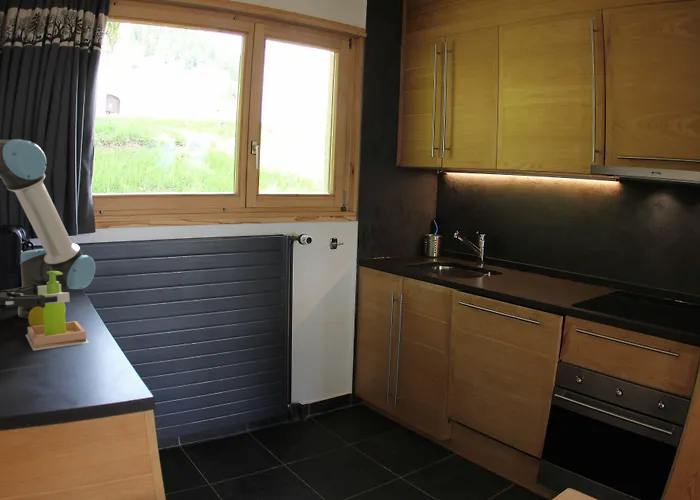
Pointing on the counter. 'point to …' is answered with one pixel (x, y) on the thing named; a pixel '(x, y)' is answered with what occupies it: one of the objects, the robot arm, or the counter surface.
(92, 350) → the counter surface
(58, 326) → the soap dispenser
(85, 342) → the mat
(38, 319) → the lemon
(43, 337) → the dish
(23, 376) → the counter surface
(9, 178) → the robot arm
